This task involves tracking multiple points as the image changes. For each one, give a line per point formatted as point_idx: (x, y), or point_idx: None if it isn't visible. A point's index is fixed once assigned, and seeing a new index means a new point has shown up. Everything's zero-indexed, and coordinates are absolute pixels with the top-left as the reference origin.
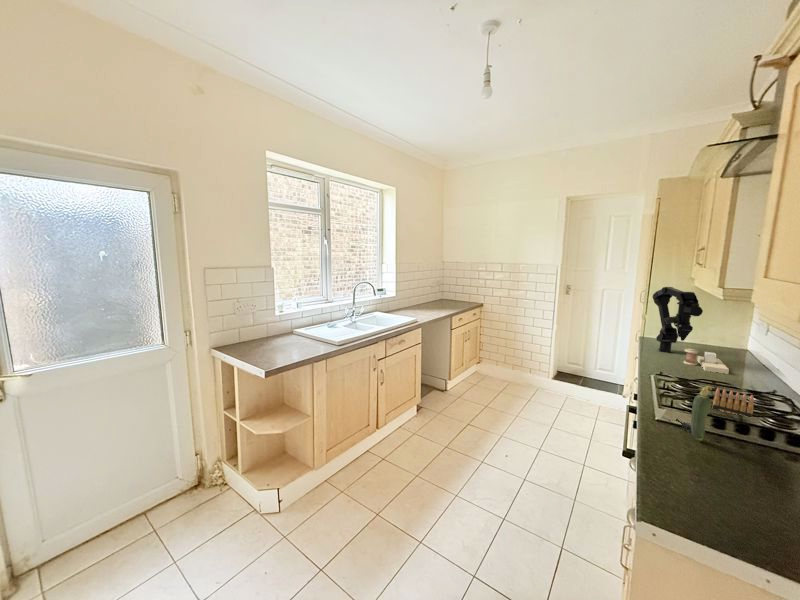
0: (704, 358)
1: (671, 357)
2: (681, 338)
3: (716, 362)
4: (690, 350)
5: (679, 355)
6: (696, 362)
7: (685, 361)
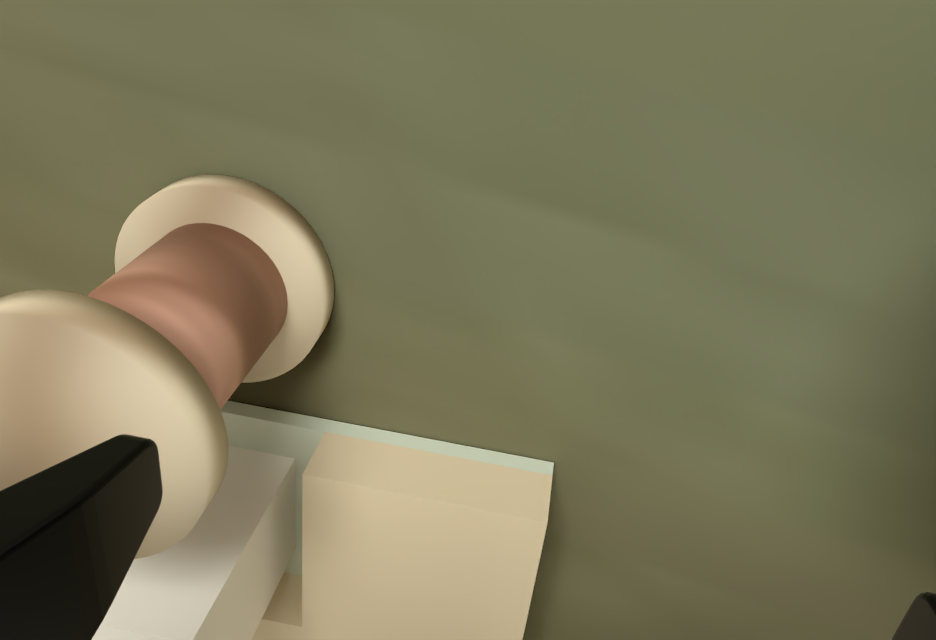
0: (206, 526)
1: (564, 56)
2: (28, 493)
3: (264, 613)
4: (2, 407)
5: (822, 285)
6: (254, 380)
7: (204, 218)
